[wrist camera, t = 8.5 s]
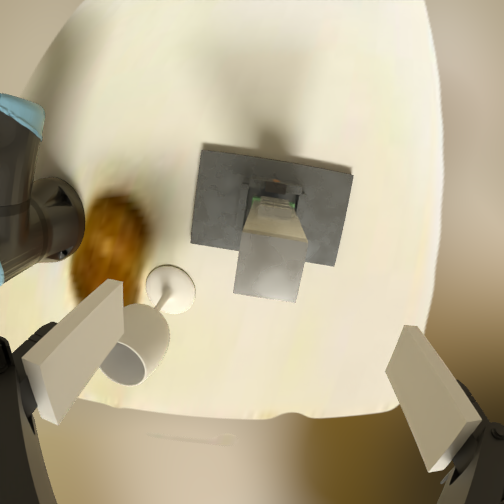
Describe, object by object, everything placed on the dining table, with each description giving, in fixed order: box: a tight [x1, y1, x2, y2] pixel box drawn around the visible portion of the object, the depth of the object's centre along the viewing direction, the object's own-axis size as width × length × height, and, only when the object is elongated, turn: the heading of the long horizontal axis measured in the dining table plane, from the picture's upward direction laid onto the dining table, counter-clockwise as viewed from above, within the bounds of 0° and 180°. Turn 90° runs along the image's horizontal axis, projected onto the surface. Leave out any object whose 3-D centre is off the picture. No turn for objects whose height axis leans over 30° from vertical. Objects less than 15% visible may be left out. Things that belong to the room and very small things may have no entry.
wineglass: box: [99, 266, 195, 386], centre depth 42 cm, size 9×9×21 cm
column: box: [233, 196, 308, 303], centre depth 31 cm, size 5×5×19 cm
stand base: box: [191, 150, 354, 266], centre depth 42 cm, size 22×14×10 cm, turn 81°
